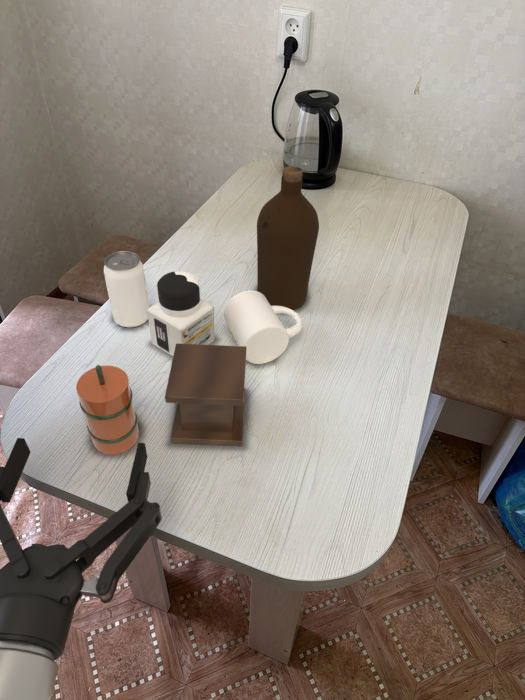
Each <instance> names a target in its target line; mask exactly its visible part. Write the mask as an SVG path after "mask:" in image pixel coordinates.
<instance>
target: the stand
mask: <svg viewBox="0 0 525 700" xmlns="http://www.w3.org/2000/svg"><path fill="white" fill-rule="evenodd" d="M246 349H247V347H245V346H238V345H222V344H220V345H219V344H209V345H199V344H176V346H175V351H174V355H173V356H172V360H171V366H170V370H169V376H168V378H167V379H168V380H167V384H166V390H165V395H164V399H165V403H166V404H176V405H175V406H176V407H175V412H174V417H173V423H172V427H171V428H172V429H171V433H170V444H174V445H175V444H177V445H200V446H202V445H203V446H223V447H224V446H227V447H228V446H229V447H243V441H244V439H243V438H244V421H245V405H246V404H245V403H246V402H245V401H246V387H245V383H246V368H247V367H246V366H247V360H246Z"/></svg>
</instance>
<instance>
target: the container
mask: <svg viewBox="0 0 525 700" xmlns="http://www.w3.org/2000/svg"><path fill="white" fill-rule="evenodd" d="M156 288H157V297H158V301H157V302H156V303H154V304H152V305H151V306H149V308H148V309H147V313H148V320H147V321H148V327H149V333H150V341H151V344H152V345H153V346H155V347H157V348H158V349H160V350H161V351H163V352H164V353H167V354H168V355H170V356H172V357H173V355H174V351H175V346H176V344H199V345H211V343H213V342H214V341H215V337H216V336H215V335H216V334H215V307H214V304H211V303H210V302H208V301H206V300H205V299H203V298H201V297H202V296H201V282H200V279H199V278H198V277H197V276H196V275H194V274H193V273H191V272H188V271H185V270H176V271H175V270H174V271H170V272H167V273H165V274H163V275H162V276H161V277H160V278H159V280H158V281H157V283H156Z"/></svg>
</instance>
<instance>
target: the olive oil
mask: <svg viewBox="0 0 525 700" xmlns="http://www.w3.org/2000/svg"><path fill="white" fill-rule="evenodd" d="M303 175H304V170H303V169H302V168H301V167H299V166H295V165H288V166H285V167H283V169H282V176H281V179H280V180H281V181H280V191H279V192H278V193H276V194H275V195H274V196H273V197H271V198H270V199H269V200H268V201H266V203H265V204H264V205H263V206H262V208H261V209H260V211H259V214H258V216H257V221H256V255H257V257H256V260H257V261H256V264H257V265H256V266H257V267H256V268H257V270H256V271H257V277H256V278H257V283H256V291H258V292H260V293H262V294H263V295H264V296H265V297H266V299H267V301H268V302H269V304H270V305H271V306H283V307H287V308H289V309H291V310H293V311H295V310H297V309H299V308H301V307H303V305H304V304H305V303H306V300H307V295H308V291H309V284H310V277H311V271H312V268H313V263H314V256H315V252H316V247H317V241H318V236H319V231H320V221H319V215H318V212H317V210H316V208H315V207H314V205H313V204H312V203H311V202H310V201H309V199H308V198H307V197H305V195H304V194H303V193H302V187H303V180H304V179H303Z"/></svg>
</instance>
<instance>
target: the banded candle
mask: <svg viewBox="0 0 525 700" xmlns="http://www.w3.org/2000/svg"><path fill="white" fill-rule="evenodd" d="M129 380H130V379H129V376H128V374H127V372H125V370H123V369H122V368H120V367H118V366H114V365H100V364H97V365H96V366H95V367H93V368H91V369H88V370H86V371H85V372H83V374H82V375H81V376H80V377H79V378H78V380H77V382H76V386H75V390H76V394H77V397H78V400H79V401H78V402H79V407H80V410H81V412H82V413H83V415H84V418H85V422H86V427H87V428H86V429H87V432H88V434H89V437H90V439H91V441H92V444H93V446H94V448H95V449H96V450H97V451H98V452H100V453H101V454H105V455H110V456H111V455H120V454H123V453H125V452H127V451H129V450H130V449H131V448H133V447H134V446H135V445H136V444H137V443H138V440H139V437H140V430H139V429H140V428H139V425H138V423H139V422H138V421H139V419H138V415H137V412H136V410H135V406H134V394H133V390H132V388H131V386H130V385H131V384H130V381H129Z"/></svg>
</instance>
